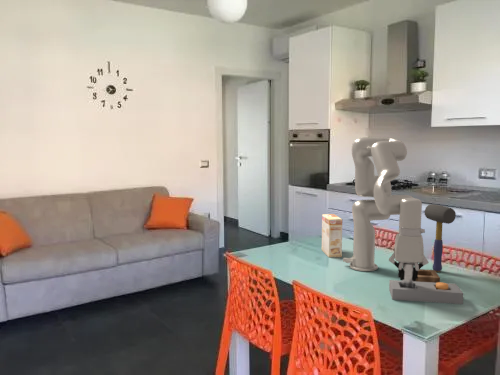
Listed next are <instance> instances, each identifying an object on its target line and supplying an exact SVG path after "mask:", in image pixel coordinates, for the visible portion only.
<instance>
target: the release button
mask: <svg viewBox="0 0 500 375" xmlns="http://www.w3.org/2000/svg"><path fill="white" fill-rule="evenodd" d="M447 283H448V282H441V281H440V282H437V283H436V289H441V290H448V284H447Z"/></svg>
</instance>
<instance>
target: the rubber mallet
mask: <svg viewBox="0 0 500 375" xmlns="http://www.w3.org/2000/svg"><path fill="white" fill-rule="evenodd" d="M424 216H425V217H426V219H428V220H431V221H432V222H433V221H434V222H436V224H435V228H436V229H435V239H434V242H433V243H434V244H433V263H432V264H433V265H432V270H435V271H436V273H440V272H441V271H442V270H443V265H442V260H443V259H442V256H443V250H444V247H443V246H444V245H443V224H446V225H447V224H448V225H449V224H452V223H453V222H455V219H456V216H457V213H456V211H455V209H453V208H452V207H449V206H444V205H440V204H433V203H432V204H428V205H427V206H426V207H425V209H424Z"/></svg>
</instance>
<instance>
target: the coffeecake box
mask: <svg viewBox="0 0 500 375" xmlns="http://www.w3.org/2000/svg"><path fill="white" fill-rule="evenodd" d="M342 248H343V219H342V218H341V217H339V216H338V215H336V214H334V213H331V214H330V213H326V214H324V213H323V214H321V251H322V252H323V253H324V254H325V255H326V256H327V257H328V258H342V257H343V256H342V255H343V253H342V252H343V251H342V250H343V249H342Z"/></svg>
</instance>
